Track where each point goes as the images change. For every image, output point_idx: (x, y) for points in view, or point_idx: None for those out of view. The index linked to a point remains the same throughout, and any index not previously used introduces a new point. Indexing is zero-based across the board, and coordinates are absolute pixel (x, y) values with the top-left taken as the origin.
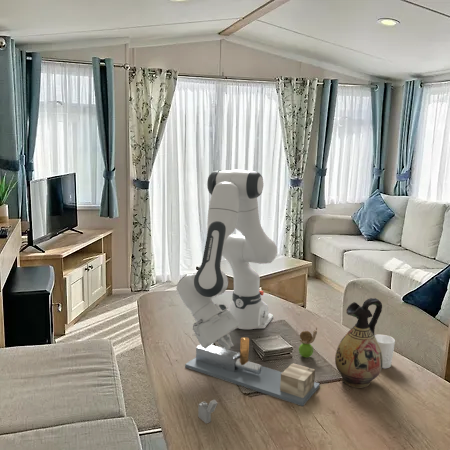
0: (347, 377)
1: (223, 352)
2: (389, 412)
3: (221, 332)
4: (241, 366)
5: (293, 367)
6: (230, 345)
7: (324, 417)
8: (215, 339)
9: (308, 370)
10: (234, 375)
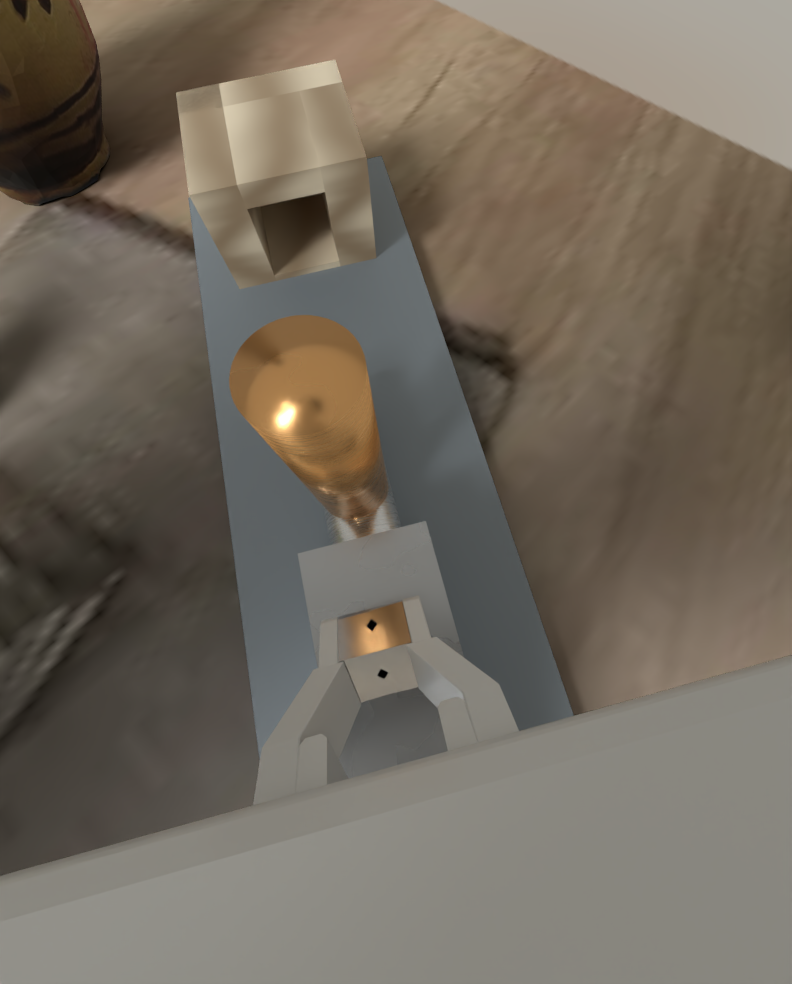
0: (99, 85)
1: (409, 697)
2: (199, 23)
3: (489, 842)
4: (390, 487)
5: (238, 161)
6: (381, 618)
7: (383, 102)
8: (746, 694)
9: (210, 103)
10: (447, 510)
